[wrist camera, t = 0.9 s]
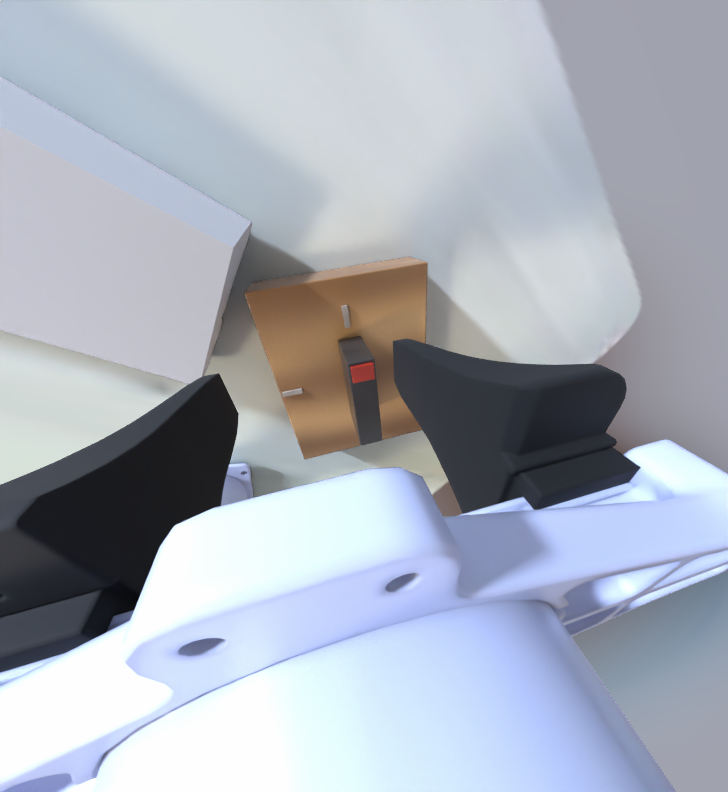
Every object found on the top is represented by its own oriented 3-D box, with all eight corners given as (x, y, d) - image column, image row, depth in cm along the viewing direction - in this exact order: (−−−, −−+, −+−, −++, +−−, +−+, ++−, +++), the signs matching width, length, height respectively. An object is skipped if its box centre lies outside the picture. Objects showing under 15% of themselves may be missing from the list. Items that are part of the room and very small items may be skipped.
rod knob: (370, 410, 21) (383, 443, 18) (351, 414, 21) (361, 448, 18) (360, 334, 17) (376, 359, 14) (337, 339, 17) (347, 365, 14)
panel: (411, 410, 26) (423, 431, 24) (303, 436, 25) (304, 461, 22) (409, 256, 18) (429, 262, 16) (250, 282, 17) (243, 293, 14)
